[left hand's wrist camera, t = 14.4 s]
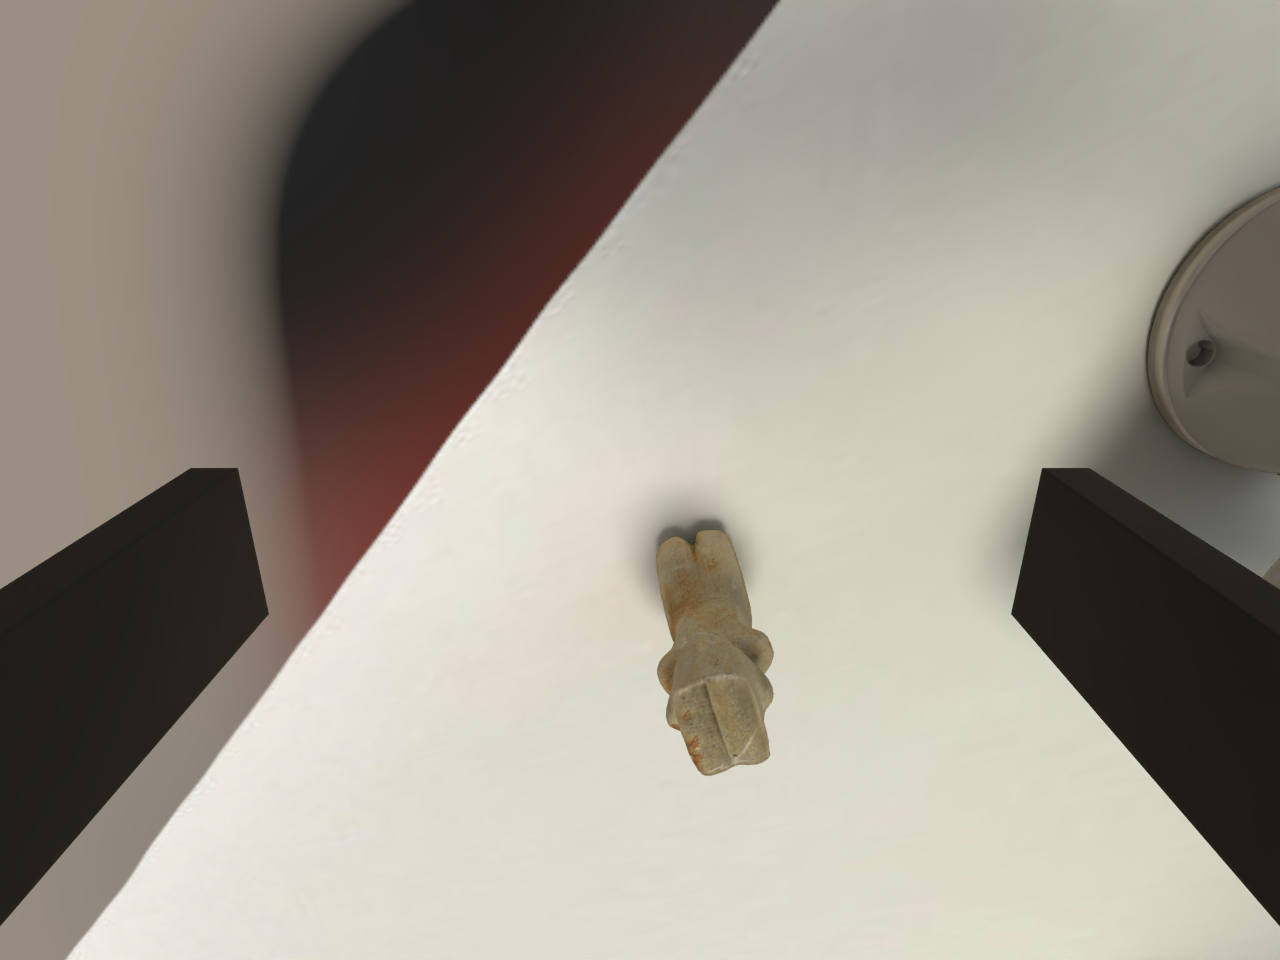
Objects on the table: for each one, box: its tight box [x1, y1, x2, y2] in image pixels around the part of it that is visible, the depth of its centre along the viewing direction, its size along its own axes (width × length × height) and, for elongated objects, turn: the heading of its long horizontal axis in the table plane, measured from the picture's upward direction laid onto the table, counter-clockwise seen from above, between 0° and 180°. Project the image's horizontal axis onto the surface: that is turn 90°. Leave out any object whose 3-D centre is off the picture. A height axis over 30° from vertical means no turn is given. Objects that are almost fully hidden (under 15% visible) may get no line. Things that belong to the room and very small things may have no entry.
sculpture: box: [656, 530, 774, 776], centre depth 39 cm, size 6×7×15 cm
